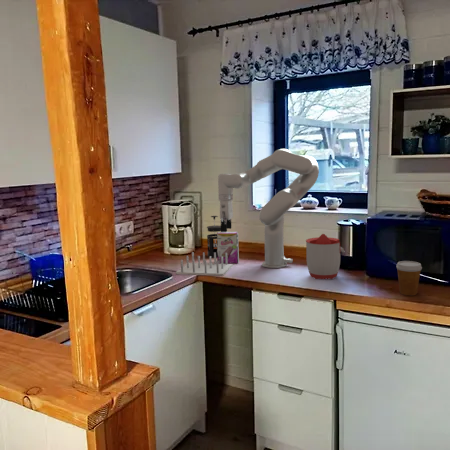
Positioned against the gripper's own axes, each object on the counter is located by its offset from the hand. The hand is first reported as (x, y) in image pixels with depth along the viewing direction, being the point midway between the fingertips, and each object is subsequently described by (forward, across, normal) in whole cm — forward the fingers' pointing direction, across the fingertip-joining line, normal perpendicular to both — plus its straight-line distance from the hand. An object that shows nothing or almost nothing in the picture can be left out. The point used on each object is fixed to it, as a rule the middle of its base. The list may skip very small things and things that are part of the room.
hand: (226, 230), depth 240 cm
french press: (+18, +14, +10) cm, 25 cm away
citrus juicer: (+16, -21, -52) cm, 58 cm away
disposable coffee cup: (+16, -41, -85) cm, 96 cm away
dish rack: (+18, -16, +7) cm, 25 cm away
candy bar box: (+18, 0, -1) cm, 18 cm away
